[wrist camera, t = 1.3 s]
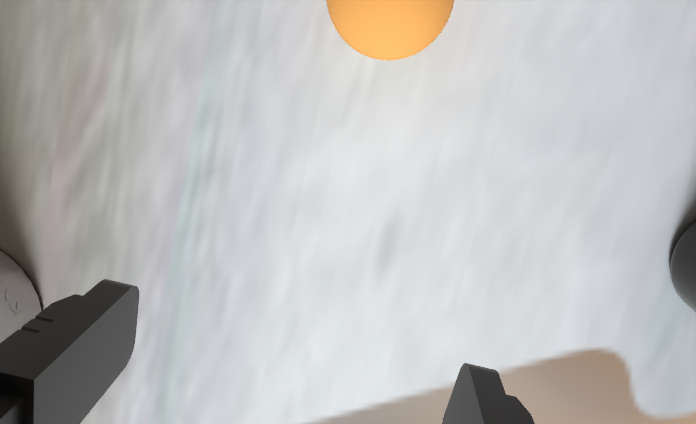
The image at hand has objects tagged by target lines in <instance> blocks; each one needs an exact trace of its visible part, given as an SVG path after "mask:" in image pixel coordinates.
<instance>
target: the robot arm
mask: <svg viewBox="0 0 696 424" xmlns="http://www.w3.org/2000/svg"><path fill="white" fill-rule="evenodd" d="M138 303H139V289H138V287H137V286H133V285H129V284H124V283H120V282H116V281H111V280H107V279H104V280H102V281H101V282H99V283H98V284H97V285H96V286H95V287H93V288H92V289H91V290H90V291H89V292H87V293H86V294H85V295H84V296H80V295H76V294H75V295H72V296H70V297H67V298H64V299H62V300H59V301H57V302H54V303H52V304H51V305H49V306H48V307H47V308H45V309H44V310H43V311H41V306H40V302H39V298H38V295H37V293H36V291H35V289H34V287H33V285H32V283H31V281H30V280H29V278H28V277H27V276H26V274H25V273H24V272H23V270H22V269H21V268H20V267H19V266H18V265H17V264H16V263H15V262H14V261H13V260H12V259H11V258H10V257H9V256H7V255H6V254H4V253H3V252H2V251H0V424H80V423H81V421H82V420H83V419H84V418H85V417H86V415H87V414H88V413H89V412H90V410H91V409H92V408H93V407H94V405H95V404H96V403H97V402H98V400H99V399H100V398H101V397H102V395H103V394H104V393H105V392H106V391H107V389H108V388H109V387H110V386H111V384H112V383H113V382H114V381H115V379H116V378H117V377H118V376H119V374H120V373H121V372H122V371H123V369H124V368H125V367H126V365H127V363H128V361H129V359H130V357H131V355H132V352H133V348H134V344H135V335H136V325H137V314H138ZM442 424H534V421H533V419H532V416H531V414H530V413H529V412H528V411H527V409H526V408H525V407H524V406H523V405H522V404H521V402H520V401H519V400H518V399H517V398H516V397H514V396H509V395H506V394H505V391H504V388H503V385H502V383H501V379H500V377H499V374H498V372H497V371H496V370H493V369H489V368H484V367H480V366H476V365H471V364H467V363H465V364H463V366H462V367H461V369H460V372H459V374H458V377H457V380H456V383H455V386H454V389H453V392H452V394H451V397H450V400H449V403H448V406H447V409H446V412H445V414H444V418H443V423H442Z"/></svg>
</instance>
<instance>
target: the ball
mask: <svg viewBox="0 0 696 424" xmlns="http://www.w3.org/2000/svg"><path fill="white" fill-rule="evenodd" d="M453 3H454V0H327V6H328V11H329V14H330V17H331V20H332V22H333V24H334V26H335V28H336V30H337V31H338V33H339V34H340V36H341V37H342V38H343V39H344V41H345V42H346V43H347V44H348V45H350V46H351V47H352V48H353V49H355V50H356V51H358V52H359V53H361V54H363V55H365V56H368V57H371V58H374V59H380V60H398V59H402V58H406V57H409V56H412V55H414V54H416V53H418V52H420V51H422V50H423V49H424V48H426V47H427V46H428V45H430V44H431V43H432V42H433V41H434V40H435V39H436V37H437V36H438V35H439V34H440V33H441V31H442V30H443V28H444V26H445V25H446V23H447V21H448V19H449V17H450V14H451V11H452V8H453Z"/></svg>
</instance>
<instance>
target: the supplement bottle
mask: <svg viewBox="0 0 696 424" xmlns="http://www.w3.org/2000/svg"><path fill="white" fill-rule="evenodd" d="M670 273H671V279H672V283H673V286H674V288H675V290H676V292H677V293H678V295H679V296H680V297H681V299H682V300H683V301H684V302H685V303H686V304H687V305H688V306H689V307H691V308H692V309H693V310H694V311H695V312H696V220H695V221H694V222H693V223H692V224H691V225H690V226H689V227H688V228H687V229H686V230H685V231H684V233H683V234H682V235H681V237H680V238H679V240H678V242H677V244H676V246H675V248H674V250H673V253H672V257H671V263H670Z"/></svg>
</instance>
